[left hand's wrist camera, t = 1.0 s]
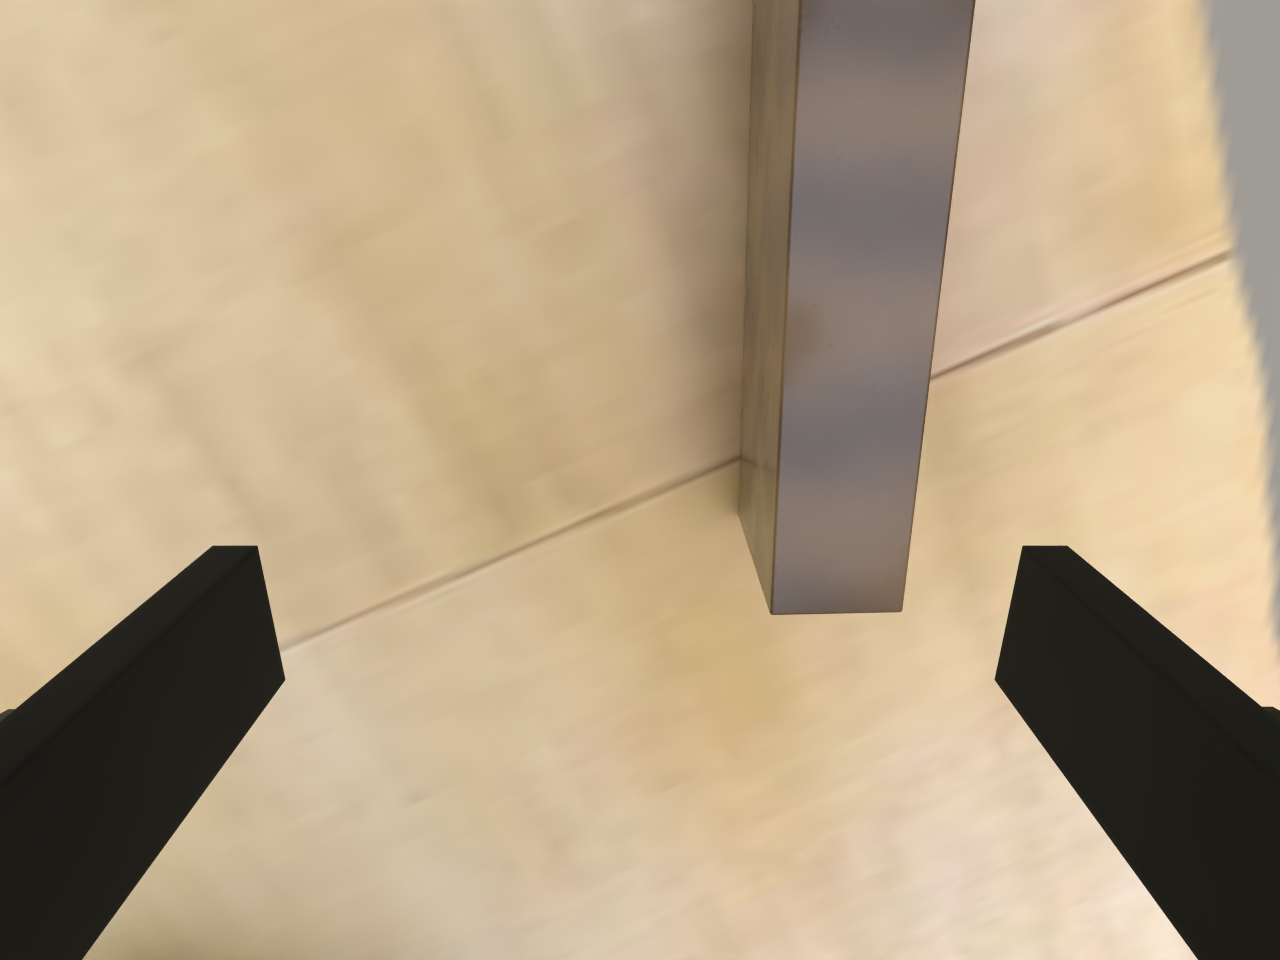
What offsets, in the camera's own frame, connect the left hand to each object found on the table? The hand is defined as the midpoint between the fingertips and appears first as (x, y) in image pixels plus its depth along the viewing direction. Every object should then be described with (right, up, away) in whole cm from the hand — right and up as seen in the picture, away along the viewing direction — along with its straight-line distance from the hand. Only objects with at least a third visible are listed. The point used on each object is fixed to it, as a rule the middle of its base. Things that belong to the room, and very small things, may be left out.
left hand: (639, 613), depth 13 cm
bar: (+6, +12, +16) cm, 21 cm away
